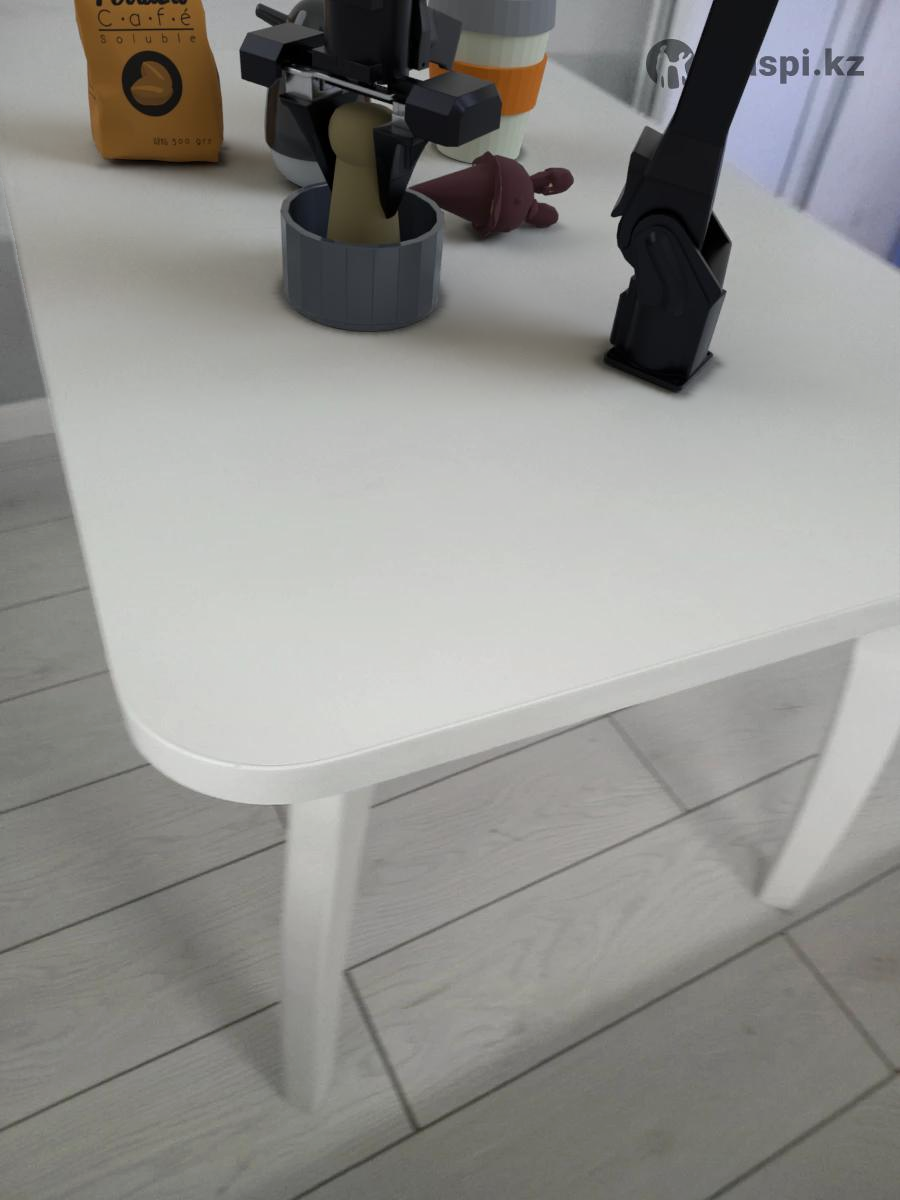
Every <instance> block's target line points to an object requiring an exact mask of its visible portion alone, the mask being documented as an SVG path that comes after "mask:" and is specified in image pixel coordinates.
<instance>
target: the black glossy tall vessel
mask: <svg viewBox="0 0 900 1200" xmlns="http://www.w3.org/2000/svg"><path fill="white" fill-rule="evenodd" d="M254 12H255V16H256V18H258V19H260V20H261V21H263V22H265V23H267V24H268V25H270V27H272V26H276V25H280V24H284V23H288V22H291V23H294V24H298V25H301V26H304V27H308V28H311V29H314V30H318V31H321V32H324V0H299V1H298V2H297V3H296V4H295V5H294V6H293V7H292V8H291V10H290V12H289V13H288V14H286V13H284V12H282V11H280V10H277V9H275V8H273V7H270V6H268V5H265V4H264V3H261V2H259V3H257V5H256V6H255V9H254ZM285 92H286V80H285V71H283V70H282V78H281V79H280V80H279V81H278V82H277V84H276V85H275V86H273V87H270V88H267V87H266V91H265V101H264V103H265V104H264V118H263V128H264V129H263V131H264V132H263V133H264V141H265V143H266V145H267V146H268V148H269V151H270V154H271V157H272V160H273V162H274V164H275V166H276V167H277V169H278V170H279V172H280V173H281V174H282V175H283V176H284V178H286V179H287V180H288V181H289V182H291V183H294V184H295V185H297V186H299V187H300V188H303V187H305V186H307V185H310V184H316V183H321V182H326V180H325V178H324V176H323V174H322V171H321V169H320V167H319V165H318V163H317V161H316V159H315V157H314V155H313V153H312V151H311V149H310V147H309V145H308V143H307V141H306V139H305V137H304V136H303V134H302V132H301V130H300V128H299V127H298V125H297V123H296V121H295V120H294V118H293V116H292V114H291V112H290V111H289V109H288V108H287V107H286V106H284V105H282V104H280V101H279V95H280V94H282V93H285ZM356 102H372V103H373V100H372V98H369V97H366V96H363V95H360V94H359V95H358V98H357V101H356Z"/></svg>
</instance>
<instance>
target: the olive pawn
mask: <svg viewBox="0 0 900 1200" xmlns="http://www.w3.org/2000/svg"><path fill="white" fill-rule="evenodd" d="M392 113H393V109H392V108H389V107H388V106H386V105H383V104H381V103H377V102H373V101H372V102H350V103H346V104H343V105H341V106H340V107H338V108H336V109H335V111H334V113H333V115H332V116H331V119H330V122H329V127H328V133H329V140H330V144H331V147H332V149H333V151H334V153H335V154H336V164H335V173H334V181H333V189H332V197H331V206H330V214H329V222H328V230H327V239H331V240H336V241H340V242H345V243H352V244H366V245H380V244H394V243H399V242H400V231H399V220H398V210H397V213H396V215H395V216H393V217H391V218H389V219H387V218H386V217H385V214H384V212H383V209H382V207H381V204H380V199H379V189H378V179H377V169H376V159H375V149H374V139H373V128H375V127H378V126H380V125H383V124H386V123H388V122H391V121H392Z"/></svg>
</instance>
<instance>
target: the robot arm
mask: <svg viewBox="0 0 900 1200" xmlns="http://www.w3.org/2000/svg"><path fill="white" fill-rule="evenodd" d="M779 1H780V0H712V2H711V5H710V8H709V11H708V14H707V16H706V19H705V22H704V26H703V28H702V31H701V34H700V37H699V41H698V43H697V46H696V49H695V52H694V55H693V58H692V61H691V63H690V67H689V70H688V72H687V74H686V75H687V76H686V79H685V82H684V84H683V87H682V90H681V92H680V96H679V99H678V101H677V102H678V103H677V104H676V107H675V110H674V112H673V114H672V116H671V118H670V119H669V121H668V123H667V126H666V127H665V129H664V131H663V132H659V131H658V130H656V129H654V128H652V127H650V126H649V125H645V126H644V127H643V129H642V131H641V133H640V135H639V137H638V138H637V141H636V143H635V146H634V147H633V149H632V151H631V153H630V156H629V162H628V167H627V172H626V178H625V179H626V180H625V183H624V185H623V187H622V189H621V192H620V194H619V195H618V198H617V200H616V201H615V204H614V206H613V208H612V210H611V213H610V217H611V218H619V217H620V219H619V221H618V224H617V230H616V237H615V238H616V245H617V248H618V249H619V251H620V252H621V254H622V256H623V258H624V261H626V262H627V263H628V264H629V265H630V267H632V268H633V271H634V274H633V275H631V276H630V278H629V283H628V287H627V288H626V289H625V290H624V291H622V292H621V293H619V295H618V296H619V297H618V302H617V305H616V309H615V314H614V318H613V322H612V328H611V331H610V336H609V340H608V341H609V343H610V345H613V346H612V347H610V348H609V349H608V350H606V352H604V354H603V357H602V362H604V363H606V364H607V365H610V366H612V367H615V368H617V369H620V370H622V371H624V372H627V373H630V374H632V375H634V376H637V377H640V378H642V379H644V380H646V381H649V382H652V383H654V384H656V385H659V386H662V387H664V388H666V389H669V390H670V391H675V392H681V391H683V390H684V389H685V388H686V387H687V386H688V385H690V383H691V382H692V381H693V380H694V379H695V378H696V377H697V376H698V375H699V374H700V373H701V372H702V371H703V370H704V369H705V368H706V367H707V366H708V365H709V364H710V362H711V361H712V360H713V357H714V353H713V352H712V351H710V350H709V349H710V345H711V342H712V339H713V338H714V337H713V336H714V333H715V330H716V328H717V324H718V321H719V317H720V315H721V311H722V308H723V304H724V301H725V299H726V295H727V294H728V293H727V292H728V291H727V290H726V289H724V284H725V279H726V274H727V269H728V265H729V261H730V256H731V252H732V247H733V241H732V240H731V238H730V236H729V235H728V233H727V232H726V230H725V228H724V227H723V225H722V223H721V221H720V220H719V218H718V216H717V214H716V213H715V211H714V210H713V209H714V204H715V202H716V201H715V200H716V196H717V190H718V187H719V182H720V176H721V172H722V168H723V163H724V157H725V152H726V149H727V148H726V147H727V143H728V139H729V132H730V129H731V126H732V123H733V121H734V118H735V115H736V112H737V111H738V108H739V105H740V102H741V100H742V97H743V95H744V92H745V89H746V86H747V84H748V82H749V79H750V77H751V74H752V71H753V69H754V66H755V64H756V62H757V58H758V56H759V54H760V51H761V48H762V46H763V43H764V41H765V38H766V35H767V32H768V30H769V28H770V25H771V23H772V21H773V17H774V14H775V12H776V9H777V6H778V4H779ZM462 27H463V22H461V21H459V20H457V19H455V18H453V17H451V16H449V15H447V14H444V13H442V12H440V11H438V10H435V9H433V8H430V7H428V2H427V0H324V32H321V31H318V30H314V29H311V28H308V27H304V26H301V25H298V24H294V23H291V22H288V23H284V24H280V25H276V26H269V27H265V28H260V29H257V30H253V31H248V32H246V35H245V37H244V38H243V41H242V43H241V45H240V47H239V50H238V51H239V53H238V54H239V66H240V78H241V80H243V81H246V82H249V83H253V84H256V85H258V86H262V87H265V88H266V89H267V88H270V87H273V86H275V85H276V84H277V82H278V81H279V80H280V79H281V78H282V70H283V71H285V80H286V92H285V93H282V94H280V95H279V101H280V104H282V105H284V106H286V107H287V108H288V109H289V111H290V112H291V114H292V116H293V118H294V120H295V121H296V123H297V125H298V127H299V128H300V130H301V132H302V134H303V136H304V137H305V139H306V141H307V143H308V145H309V147H310V149H311V151H312V153H313V155H314V157H315V159H316V161H317V163H318V165H319V167H320V169H321V171H322V174H323V176H324V178H325V180H326V182H327V184H328V186H329V188H330V190H331V193H332V189H333V181H334V173H335V164H336V154H335V153H334V151H333V149H332V147H331V144H330V140H329V133H328V127H329V122H330V119H331V116H332V115H333V113H334V111H335V109H336V108H338V107H340V106H341V105H343V104H346V103H350V102H356V101H357V98H358V95H359V94H360V95H363V96H366V97H369V98H371V100H372V99H373V100H376V101H378V102H382V103H385V104H387V105H391V106H392V111H393V113H392V121H391V122H388V123H386V124H383V125H380V126H378V127H375V128H373V139H374V149H375V159H376V169H377V179H378V189H379V199H380V204H381V207H382V209H383V212H384V214H385V217H386V218H387V219H389V218H391V217H393V216H395V215H396V213H397V210H398V208H399V205H400V203H401V200H402V198H403V195H404V193H405V190H406V188H408V186H409V183H410V180H411V178H412V175H413V173H414V170H415V167H417V166H416V165H417V163H418V161H419V160H420V157H421V156H422V153H423V152H424V151H425V148H426V146H427V145H428V143H429V142H430V143H432V144H435V145H436V144H438V145H441V146H444V147H459V146H461V145H464V144H466V143H468V142H470V141H473V140H475V139H477V138H479V137H481V136H484V135H486V134H488V133H490V132H493V131H495V130H497V129H499V128H500V119H501V110H502V100H501V96H500V94H499V92H498V89H497V87H496V85H495V83H493V82H490V81H487V80H483V79H480V78H476V77H473V76H470V75H466V74H463V73H460V72H456V71H453V70H452V68H453V64H454V60H455V56H456V52H457V48H458V43H459V39H460V35H461V31H462ZM429 62H431V63H434V64H438V66H439V68H441V69H444V70H447V71H449V72H446V73H444V74H441V75H438V76H435V77H432V78H430V79H429V78H427V79H424V80H421V79H418V78H416V77H412V76H410V71H413V70H415V71H418V72H421V71H423V70H426V69H429Z"/></svg>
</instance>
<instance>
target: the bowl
mask: <svg viewBox="0 0 900 1200" xmlns="http://www.w3.org/2000/svg"><path fill="white" fill-rule="evenodd" d="M408 188H409V187H407V188H406V190H405V193H404V195H403V198H402V200H401V203H400V205H399V208H398V220H399V231H400V242H399V243H394V244H380V245H366V244H352V243H345V242H340V241H336V240H331V239H327V230H328V222H329V214H330V206H331V197H332V193H331V190H330V188H329V186H328V184H327V182H321V183H316V184H310V185H307V186H305V187H300V188H298V189H295V190H293V191H292V192H291V193H290V194H289V195H287V196H286V197H285V198H283V200H282V203H281V206H280V211H279V214H280V215H279V216H280V217H279V218H280V233H281V234H280V235H281V257H282V258H281V259H282V280H283V281H282V283H283V288H284V289H283V290H284V295H285V299H286V300H287V302H288V304H289V305H290V306H291V307H292V308H293V309H294V310H295V311H296V312H297V313H299V314H300V315H302V316H304V317H305V318H307V319H309V320H311V321H313V322H315V323H317V324H322V325H323V326H324V325H325V326H328V327H332V328H336V329H340V330H347V331H356V332H381V331H383V332H384V331H389V330H395V329H396V330H397V329H401V328H404V327H408V326H410V325H413V324H416V323H418V322H421V321H422V320H423V319H425V318H427V317H428V316H429V315H430V314H431V313H432V312H433V311H434V310H435V308H436V306H437V304H438V299H439V295H440V282H441V270H442V261H443V260H442V258H443V246H444V235H445V234H444V233H445V213H444V210H443V209H441V208H440V207H439V206H438V205H437V204H436V202H435V201H433V200H431V199H430V198H428V197H427V196H425V195H423V194H422V193H419V192H417V191H414V190H411V189H408Z"/></svg>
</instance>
